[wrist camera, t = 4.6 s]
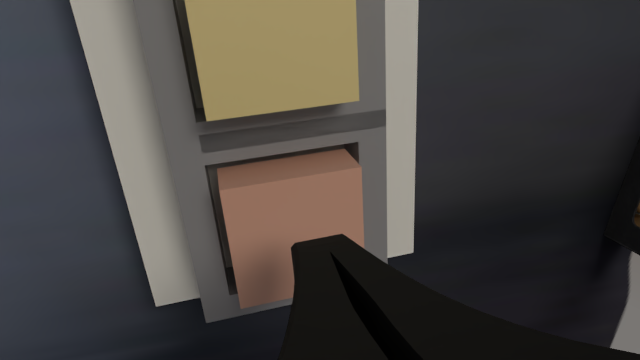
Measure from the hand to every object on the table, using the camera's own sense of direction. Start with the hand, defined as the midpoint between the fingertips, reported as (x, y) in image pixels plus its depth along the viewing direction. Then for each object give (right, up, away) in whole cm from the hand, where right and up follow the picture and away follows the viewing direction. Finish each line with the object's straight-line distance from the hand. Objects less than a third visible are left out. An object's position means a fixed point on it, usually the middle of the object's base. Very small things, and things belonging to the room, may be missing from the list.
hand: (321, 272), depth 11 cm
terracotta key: (-1, +1, +5) cm, 5 cm away
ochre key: (-2, +7, +2) cm, 7 cm away
